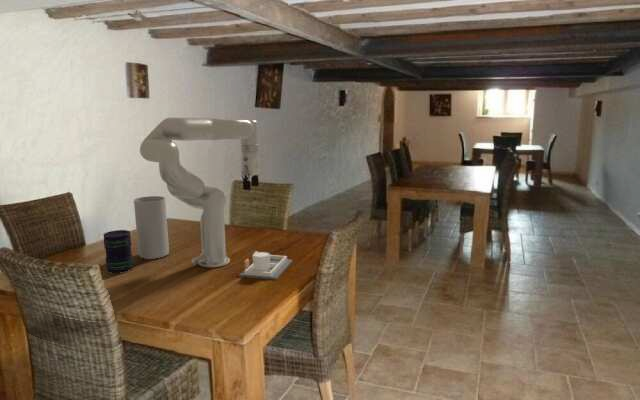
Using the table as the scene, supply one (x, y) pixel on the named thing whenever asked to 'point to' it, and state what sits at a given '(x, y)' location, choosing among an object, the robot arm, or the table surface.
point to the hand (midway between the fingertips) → (251, 187)
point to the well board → (275, 268)
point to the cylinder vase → (151, 227)
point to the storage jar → (118, 251)
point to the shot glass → (261, 261)
